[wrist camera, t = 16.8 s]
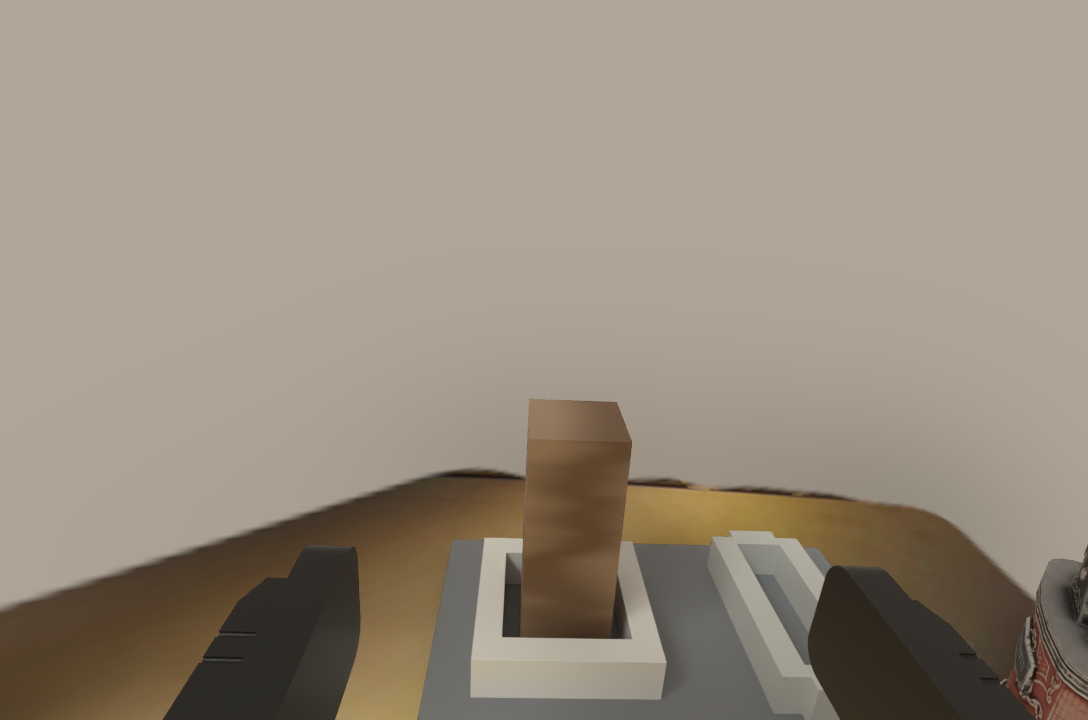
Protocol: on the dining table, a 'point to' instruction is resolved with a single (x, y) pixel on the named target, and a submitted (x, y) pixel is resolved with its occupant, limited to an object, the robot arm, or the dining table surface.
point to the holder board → (636, 638)
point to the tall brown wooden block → (572, 518)
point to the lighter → (1055, 646)
